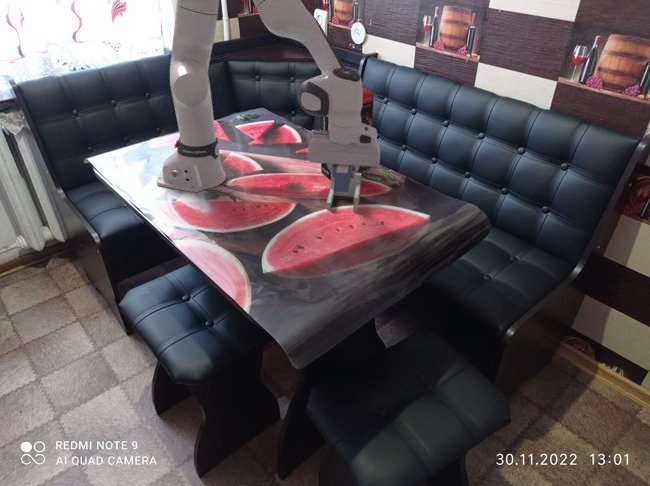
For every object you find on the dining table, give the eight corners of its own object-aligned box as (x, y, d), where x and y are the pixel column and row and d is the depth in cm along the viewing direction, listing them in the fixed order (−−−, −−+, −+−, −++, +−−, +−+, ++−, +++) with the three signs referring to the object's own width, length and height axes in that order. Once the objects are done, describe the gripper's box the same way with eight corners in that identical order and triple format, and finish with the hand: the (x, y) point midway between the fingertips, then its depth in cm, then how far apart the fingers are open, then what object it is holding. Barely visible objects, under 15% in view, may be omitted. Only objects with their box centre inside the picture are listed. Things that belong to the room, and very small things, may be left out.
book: (333, 191, 136) (334, 172, 133) (338, 174, 144) (338, 156, 141) (348, 192, 136) (348, 173, 132) (351, 175, 144) (352, 157, 140)
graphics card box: (328, 180, 163) (330, 101, 147) (318, 172, 168) (319, 94, 152) (370, 169, 170) (376, 92, 154) (359, 161, 175) (364, 86, 159)
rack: (326, 209, 148) (326, 186, 143) (330, 193, 156) (331, 171, 151) (357, 212, 147) (358, 189, 142) (359, 195, 155) (361, 173, 150)
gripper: (304, 133, 129) (305, 179, 137) (381, 138, 127) (377, 184, 135) (308, 124, 134) (309, 169, 143) (382, 129, 132) (378, 174, 140)
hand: (343, 176), depth 139 cm, fingers closed on book, 4 cm apart
